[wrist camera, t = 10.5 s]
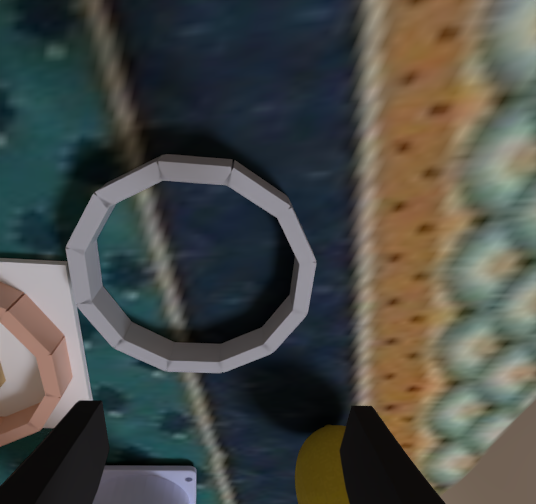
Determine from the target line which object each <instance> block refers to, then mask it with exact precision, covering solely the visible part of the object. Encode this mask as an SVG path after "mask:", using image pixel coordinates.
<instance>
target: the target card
mask: <svg viewBox="0 0 536 504" xmlns="http://www.w3.org/2000/svg"><path fill="white" fill-rule="evenodd" d="M0 282H2V283H4V284H7V285H9V286H11V287H13V288H15V289H18V290H20V291H22V292H24V293H23V295H24V294H27V296H28V297H29V298H30V299H31V300H32V301H33V302H34V303H35V304H36V305H37V306H38V307H39V308H40V309H41V311H42V312H43V313H44V314H45V315H46V316H47V317H48V318H49V319H50V320H51V321H52V322H53V323H54V324H55V326H56V327H57V328H58V329H59V330H60V331H61V332H62V333H63V334H64V336H65V339H66V344H67V349H68V354H69V359H70V365H71V370H72V375H73V377H72V380H71V382H70V383H69V385H68V387H67V389H66V390H65V392H64V394H63V396H62V397H61V399H60V401H59V402H58V404H57V405H56V407H55V409H54V410H53V412H52V413H51V415H50V417H49V418H48V420H47V421H46V423H45V424H44V426H43V428H55V426H56V425H57V424H58V423H59V422H60V421H61V420H62V418H63V417H64V416H65V415H66V414H67V413H68V412H69V410H70V409H71V408H72V407H73V406H74V405H75V403H77V402H78V401H79V400H88V401H93V398H92V393H91V387H90V381H89V375H88V369H87V363H86V358H85V352H84V346H83V340H82V334H81V328H80V323H79V317H78V311H77V306H76V304H75V301H74V295H73V289H72V283H71V277H70V272H69V266H68V261H50V260H31V259H13V258H0ZM0 362H1V366H2V369H3V372H4V376H5V379H6V381H5V382H4V384H3V385H2V386H1V388H0V416H2V417H6V416H9V415H11V414H13V413H16V412H18V411H21V410H23V409H26V408H28V407H30V406H33V405H35V404H38V403H40V402H41V401H42V399H43V398H44V396H45V392H44V388H43V384H42V380H41V376H40V372H39V368H38V364H37V360H36V357H35V356H34V355H33V354H32V353H31V352H30V351H29V350H28V349H27V348H26V347H25V346H24V345H23V344H22V343H21V342H20V341H19V340H18V339H17V338H16V337H15V336H14V335H13V334H12V333H11V332H10V331H9V330H8V329H7V328H6V327H5V326H4V325H3V324H1V323H0Z"/></svg>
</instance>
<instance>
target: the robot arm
mask: <svg viewBox="0 0 536 504" xmlns="http://www.w3.org/2000/svg"><path fill="white" fill-rule="evenodd" d="M339 451H340V458H341V464H342V470H343V476H344V482H345V487H346V492H347V495H348V499H349V503H350V504H445V502H444V501H443V500H442V499H441V498H440V496H439V495H438V494H437V493H436V491H435V490H434V489H433V488H432V486H431V485H430V484H429V483H428V481H427V480H426V479H425V478H424V476H423V475H422V474H421V472H420V471H419V470H418V468H417V467H416V466H415V465H414V463H413V462H412V461H411V459H410V458H409V457H408V455H407V454H406V453H405V451H404V450H403V449H402V447H401V446H400V444H399V443H398V442H397V440H396V439H395V438H394V436H393V435H392V433H391V432H390V431H389V429H388V428H387V426H386V425H385V424H384V422H383V421H382V419H381V418H380V417H379V415H378V414H377V412H376V411H375V409H374V408H373V407H372V406H352V407H351V410H350V414H349V418H348V421H347V425H346V429H345V432H344V436H343V439H342V443H341V447H340V450H339ZM108 452H109V443H108V436H107V430H106V424H105V417H104V411H103V404H102V401H88V400H79V401H78V402H77V403H75V405H74V406H73V407H72V408H71V409H70V410H69V412H68V413H67V414H66V415H65V416H64V417H63V418H62V420H61V421H60V422H59V423H58V424H57V425H56V426H55V428H54V429H53V430H52V431H51V432H50V433H49V434H48V435H47V437H46V438H45V439H44V440H43V441H42V442H41V443H40V444H39V445H38V447H37V448H36V449H35V450H34V451H33V452H32V453H31V454H30V455H29V456H28V457H27V458H26V459H25V461H24V462H23V463H22V464H21V465H20V466H19V467H18V468H17V469H16V470H15V471H14V472H13V473H12V474H11V475H10V477H9V478H8V479H7V480H6V481H5V482H4V483H3V484H2V485H1V486H0V504H196V468H195V467H193V466H142V465H105V463H106V459H107V456H108Z"/></svg>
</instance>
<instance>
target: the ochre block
mask: <svg viewBox="0 0 536 504" xmlns="http://www.w3.org/2000/svg"><path fill="white" fill-rule="evenodd" d="M5 381H6V379H5V376H4V372H3V369H2V366H1V362H0V388H1V386H2V385H3V384H4V382H5Z"/></svg>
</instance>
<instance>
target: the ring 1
mask: <svg viewBox="0 0 536 504" xmlns="http://www.w3.org/2000/svg"><path fill="white" fill-rule="evenodd" d="M23 293H24V292H22V291H20V290H18V289H15V288H13V287H11V286H9V285H7V284H4V283H2V282H0V323H1V324H3V325H4V326H5V327H6V328H7V329H8V330H9V331H10V332H11V333H12V334H13V335H14V336H15V337H16V338H17V339H18V340H19V341H20V342H21V343H22V344H23V345H24V346H25V347H26V348H27V349H28V350H29V351H30V352H31V353H32V354H33V355H34V356H35V357H36V360H37V364H38V368H39V372H40V376H41V380H42V384H43V388H44V392H45V396H44V398H43V399H42V401H41V402H40V403H38V404H35V405H33V406H30V407H28V408H26V409H23V410H21V411H18V412H16V413H13V414H11V415H9V416H6V417H2V416H0V447H1V446H3V445H6V444H8V443H11V442H13V441H16V440H18V439H21V438H23V437H26V436H28V435H31V434H33V433H36V432H38V431H40V430H41V429H42V428H43V426H44V424H45V423H46V421H47V420H48V418H49V417H50V415H51V413H52V412H53V410H54V409H55V407H56V405H57V404H58V402H59V401H60V399H61V397H62V396H63V394H64V392H65V390H66V389H67V387H68V385H69V383H70V382H71V380H72V377H73V375H72V370H71V365H70V359H69V354H68V349H67V344H66V339H65V336H64V334H63V333H62V332H61V331H60V330H59V329H58V328H57V327H56V326H55V324H54V323H53V322H52V321H51V320H50V319H49V318H48V317H47V316H46V315H45V314H44V313H43V312H42V311H41V309H40V308H39V307H38V306H37V305H36V304H35V303H34V302H33V301H32V300H31V299H30V298H29V297H28V296H27V294H24V295H23Z"/></svg>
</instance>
